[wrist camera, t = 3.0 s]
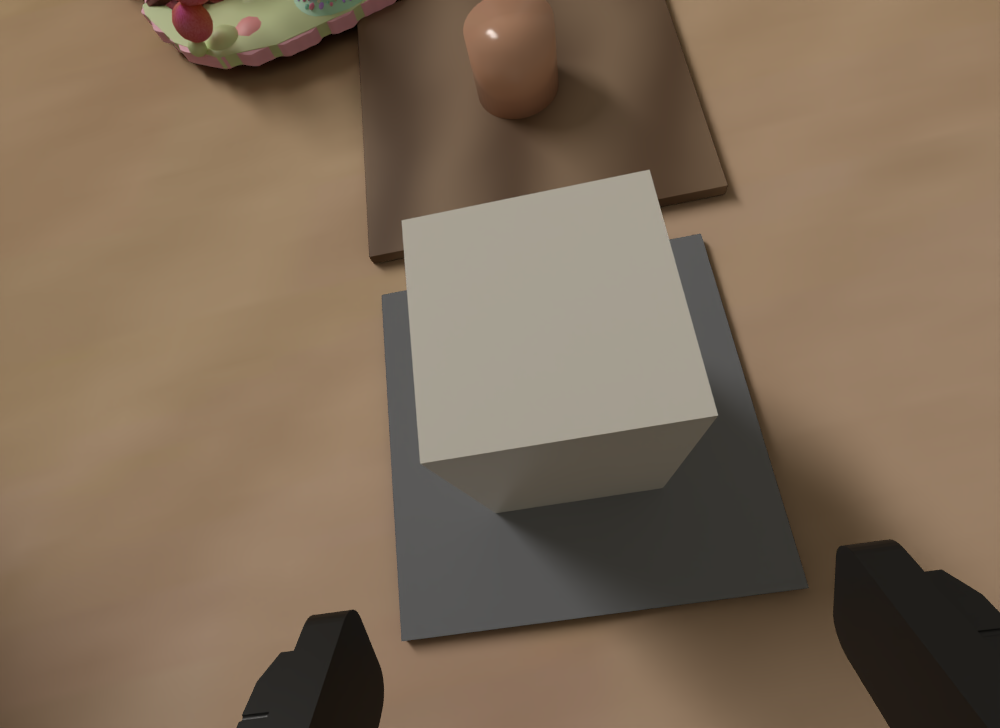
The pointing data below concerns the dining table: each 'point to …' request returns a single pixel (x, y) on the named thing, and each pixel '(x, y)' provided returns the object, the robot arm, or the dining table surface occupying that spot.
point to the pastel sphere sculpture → (251, 26)
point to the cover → (553, 346)
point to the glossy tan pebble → (513, 56)
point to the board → (536, 139)
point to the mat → (592, 511)
